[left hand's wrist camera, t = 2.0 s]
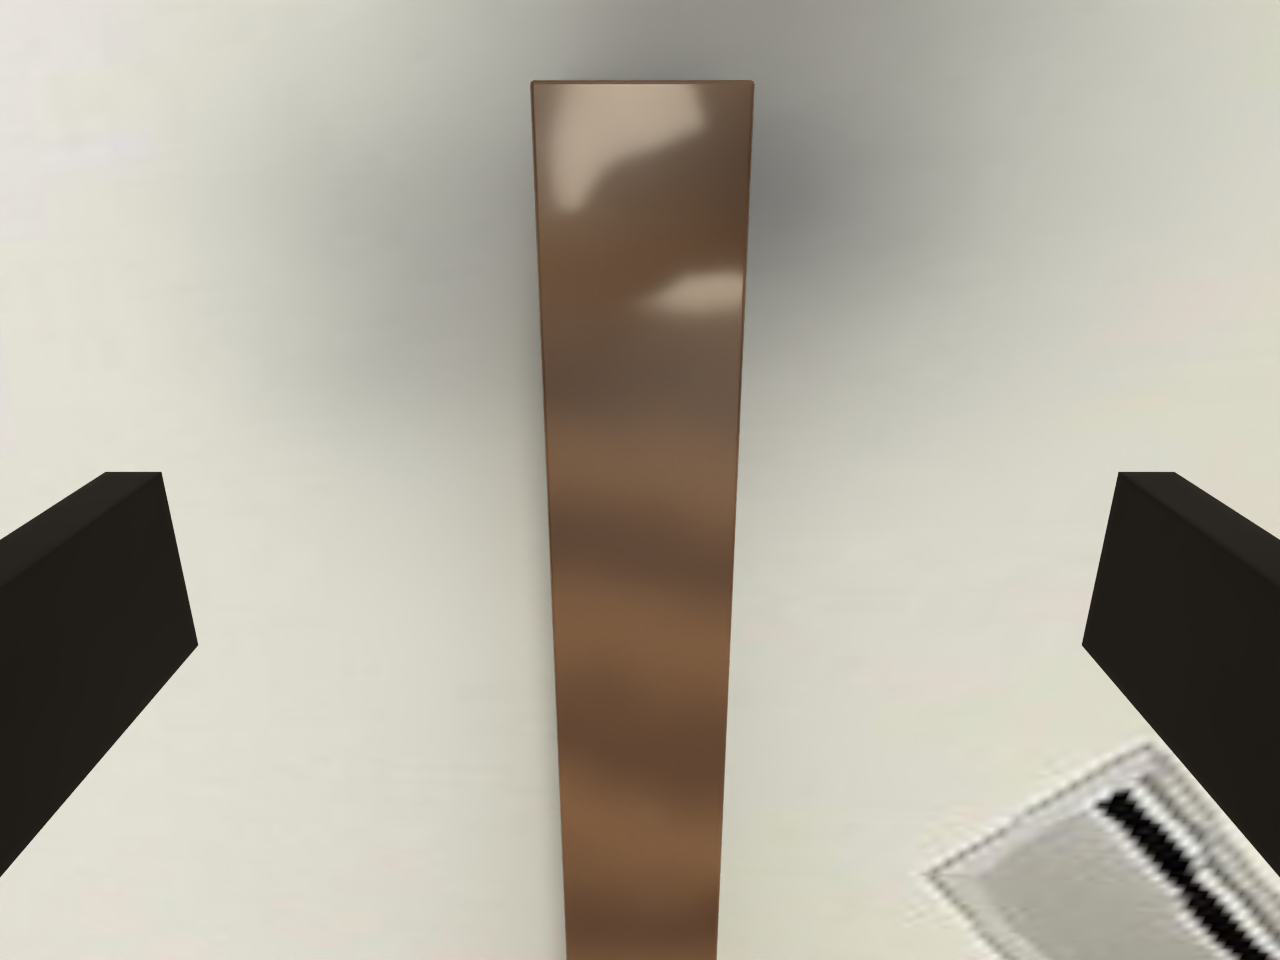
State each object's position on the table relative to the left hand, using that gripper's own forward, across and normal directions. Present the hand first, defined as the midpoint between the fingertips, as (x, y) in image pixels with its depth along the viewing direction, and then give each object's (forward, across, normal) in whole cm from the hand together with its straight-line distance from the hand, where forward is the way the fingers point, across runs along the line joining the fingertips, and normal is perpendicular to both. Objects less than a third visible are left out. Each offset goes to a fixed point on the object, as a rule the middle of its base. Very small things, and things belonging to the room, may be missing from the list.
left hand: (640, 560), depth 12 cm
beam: (+21, 0, -25) cm, 32 cm away
